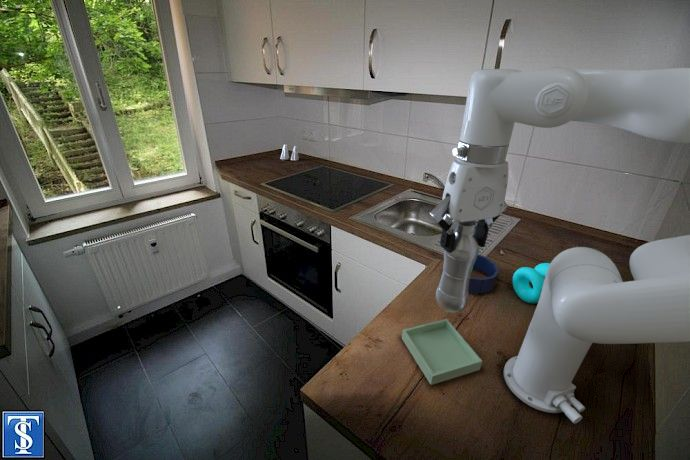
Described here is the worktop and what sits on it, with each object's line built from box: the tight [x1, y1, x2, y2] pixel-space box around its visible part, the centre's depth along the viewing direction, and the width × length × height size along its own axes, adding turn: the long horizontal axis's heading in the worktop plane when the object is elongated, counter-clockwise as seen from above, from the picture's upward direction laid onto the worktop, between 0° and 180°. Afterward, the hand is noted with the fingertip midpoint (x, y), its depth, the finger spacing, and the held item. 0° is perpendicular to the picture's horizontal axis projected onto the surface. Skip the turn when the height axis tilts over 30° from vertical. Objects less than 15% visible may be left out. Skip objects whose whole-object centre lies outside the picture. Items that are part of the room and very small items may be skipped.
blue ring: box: [468, 253, 500, 295], centre depth 96 cm, size 15×15×5 cm
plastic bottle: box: [435, 220, 480, 314], centre depth 62 cm, size 6×7×20 cm
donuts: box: [512, 262, 551, 305], centre depth 87 cm, size 10×10×10 cm
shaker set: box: [280, 143, 300, 162], centre depth 211 cm, size 12×4×11 cm, turn 97°
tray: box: [401, 318, 483, 386], centre depth 71 cm, size 13×12×3 cm
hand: (462, 245), depth 60 cm, fingers closed on plastic bottle, 6 cm apart
